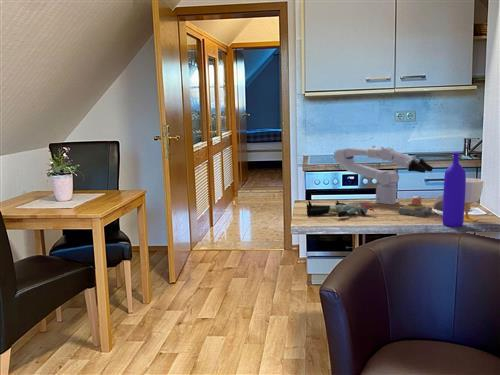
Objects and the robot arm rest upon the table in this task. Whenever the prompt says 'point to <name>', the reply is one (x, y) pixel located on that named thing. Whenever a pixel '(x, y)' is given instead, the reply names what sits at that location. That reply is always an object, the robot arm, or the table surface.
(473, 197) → the cup
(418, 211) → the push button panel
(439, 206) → the stone
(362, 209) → the toy
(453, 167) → the bottle
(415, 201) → the can
